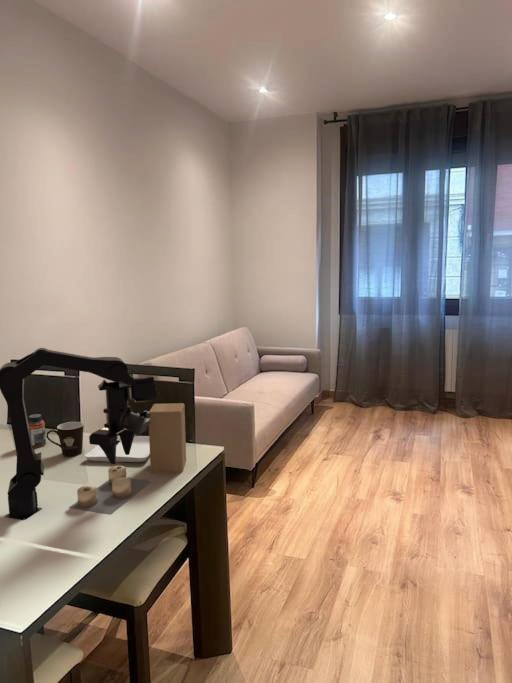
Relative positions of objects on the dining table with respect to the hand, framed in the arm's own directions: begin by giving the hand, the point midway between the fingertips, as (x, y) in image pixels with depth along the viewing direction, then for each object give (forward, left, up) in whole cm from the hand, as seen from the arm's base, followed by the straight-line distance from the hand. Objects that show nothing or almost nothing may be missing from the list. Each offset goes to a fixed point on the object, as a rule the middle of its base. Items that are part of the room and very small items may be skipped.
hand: (120, 459), depth 134 cm
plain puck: (0, 0, -10) cm, 10 cm away
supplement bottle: (+27, +53, -11) cm, 60 cm away
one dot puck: (-7, +6, -10) cm, 14 cm away
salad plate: (+29, +17, -12) cm, 36 cm away
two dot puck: (+7, +6, -10) cm, 14 cm away
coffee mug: (+24, +37, -11) cm, 45 cm away
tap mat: (0, +3, -11) cm, 11 cm away
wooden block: (+22, -3, -11) cm, 25 cm away
